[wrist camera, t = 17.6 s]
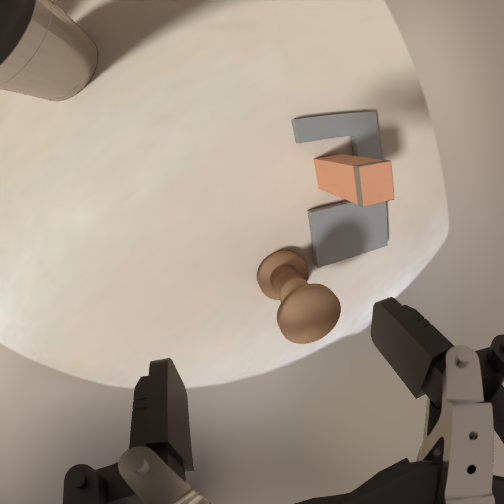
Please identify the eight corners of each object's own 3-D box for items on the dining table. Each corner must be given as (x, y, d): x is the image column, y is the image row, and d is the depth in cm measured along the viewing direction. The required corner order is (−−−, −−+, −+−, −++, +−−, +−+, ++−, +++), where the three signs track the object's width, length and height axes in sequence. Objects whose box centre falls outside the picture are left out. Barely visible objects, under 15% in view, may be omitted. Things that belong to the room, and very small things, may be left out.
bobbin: (252, 258, 39) (274, 300, 28) (301, 244, 39) (339, 280, 29) (262, 301, 41) (284, 351, 31) (307, 287, 42) (341, 331, 32)
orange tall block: (313, 158, 35) (358, 166, 25) (340, 153, 36) (390, 160, 26) (318, 189, 37) (362, 207, 27) (345, 182, 37) (394, 199, 27)
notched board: (291, 119, 33) (294, 119, 32) (370, 111, 34) (375, 111, 33) (314, 264, 41) (318, 267, 40) (383, 242, 42) (387, 245, 41)
